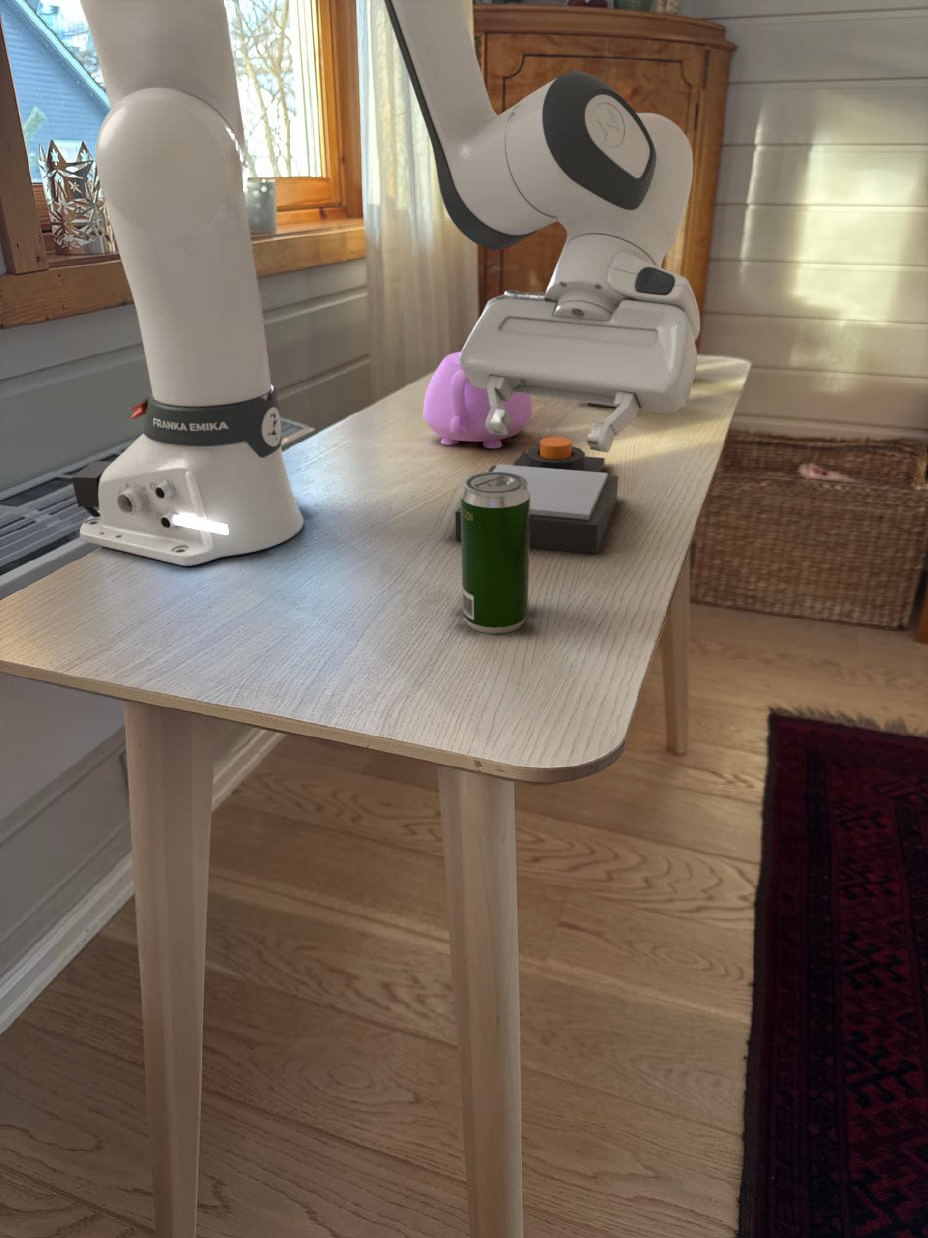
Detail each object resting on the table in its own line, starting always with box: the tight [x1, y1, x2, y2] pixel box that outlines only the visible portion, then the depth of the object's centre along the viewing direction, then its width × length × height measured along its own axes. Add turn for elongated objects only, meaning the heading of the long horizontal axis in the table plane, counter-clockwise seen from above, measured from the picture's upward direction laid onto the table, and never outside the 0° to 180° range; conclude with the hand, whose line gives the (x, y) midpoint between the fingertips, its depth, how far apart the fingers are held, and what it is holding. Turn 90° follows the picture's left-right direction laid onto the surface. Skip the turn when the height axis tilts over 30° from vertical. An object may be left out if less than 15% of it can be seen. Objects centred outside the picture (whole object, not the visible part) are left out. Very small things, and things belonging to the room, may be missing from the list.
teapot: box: [422, 351, 533, 449], centre depth 116 cm, size 20×14×12 cm
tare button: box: [539, 436, 573, 459], centre depth 103 cm, size 4×4×2 cm
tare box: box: [512, 445, 606, 473], centre depth 104 cm, size 10×10×3 cm
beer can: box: [459, 471, 530, 635], centre depth 72 cm, size 5×5×12 cm
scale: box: [454, 463, 619, 555], centre depth 92 cm, size 14×14×4 cm
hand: (544, 439), depth 74 cm, fingers open, 8 cm apart
